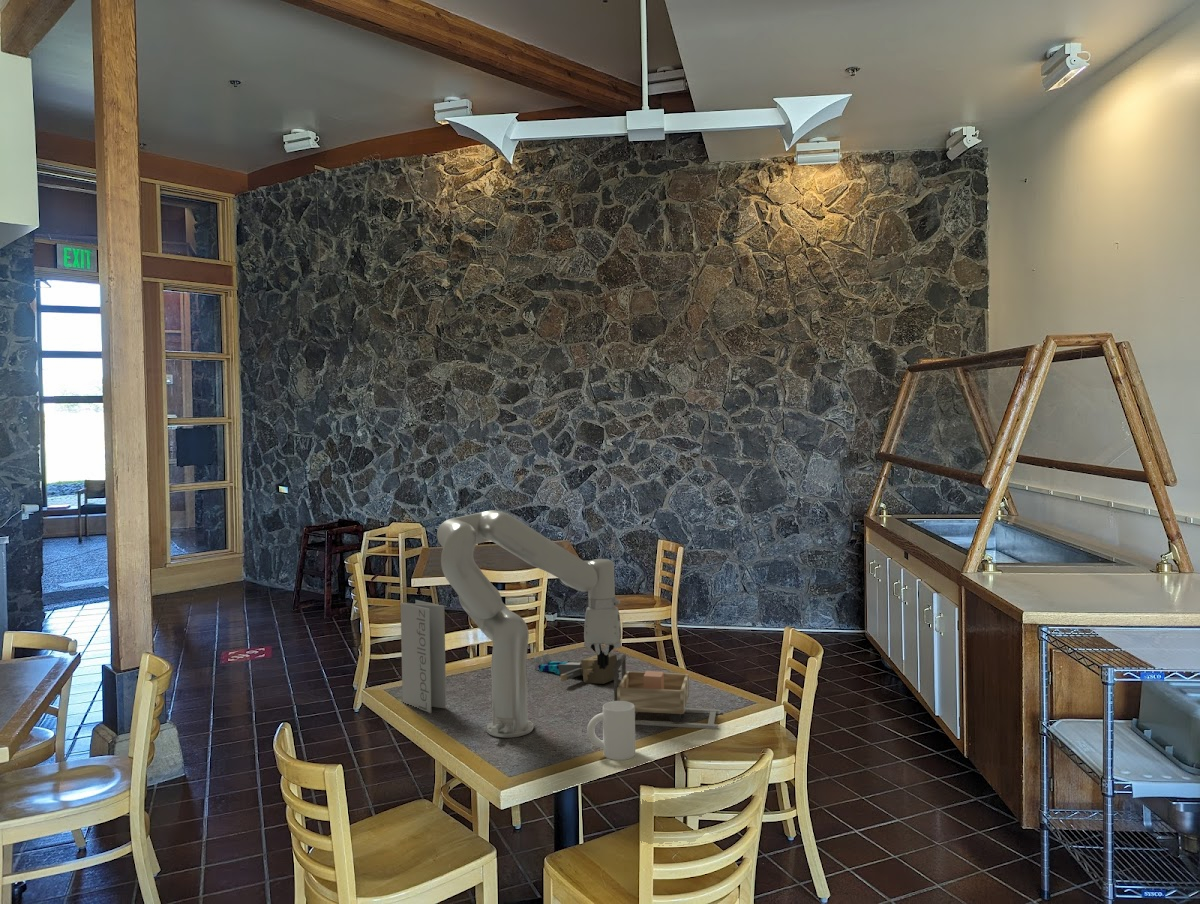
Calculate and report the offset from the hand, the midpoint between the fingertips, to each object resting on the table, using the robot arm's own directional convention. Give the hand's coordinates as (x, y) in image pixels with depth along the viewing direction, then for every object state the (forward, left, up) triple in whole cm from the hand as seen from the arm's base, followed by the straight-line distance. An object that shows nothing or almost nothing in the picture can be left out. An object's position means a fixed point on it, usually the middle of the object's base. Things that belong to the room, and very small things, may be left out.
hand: (603, 667), depth 231 cm
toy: (+36, +17, -14) cm, 42 cm away
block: (0, -14, -8) cm, 16 cm away
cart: (0, -14, -12) cm, 18 cm away
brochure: (-1, +54, -14) cm, 56 cm away
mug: (-28, -7, -14) cm, 32 cm away
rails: (0, -19, -13) cm, 23 cm away
